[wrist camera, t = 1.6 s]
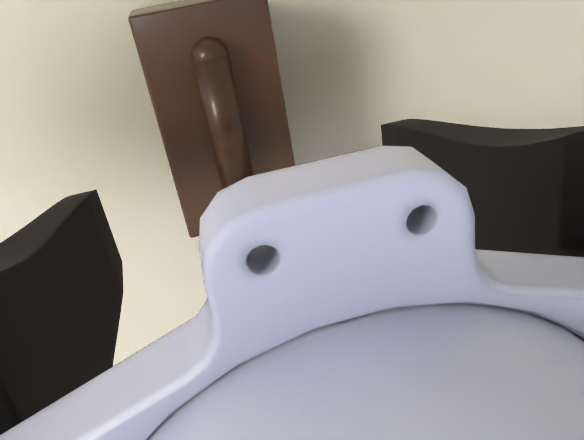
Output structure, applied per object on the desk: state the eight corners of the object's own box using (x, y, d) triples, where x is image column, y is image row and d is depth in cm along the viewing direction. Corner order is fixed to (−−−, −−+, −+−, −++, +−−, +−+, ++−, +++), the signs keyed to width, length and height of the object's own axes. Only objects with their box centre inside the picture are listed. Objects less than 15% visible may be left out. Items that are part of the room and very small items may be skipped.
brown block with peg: (132, 5, 20) (126, 20, 16) (249, -17, 21) (271, -9, 17) (185, 199, 24) (191, 250, 20) (283, 176, 25) (308, 221, 20)
